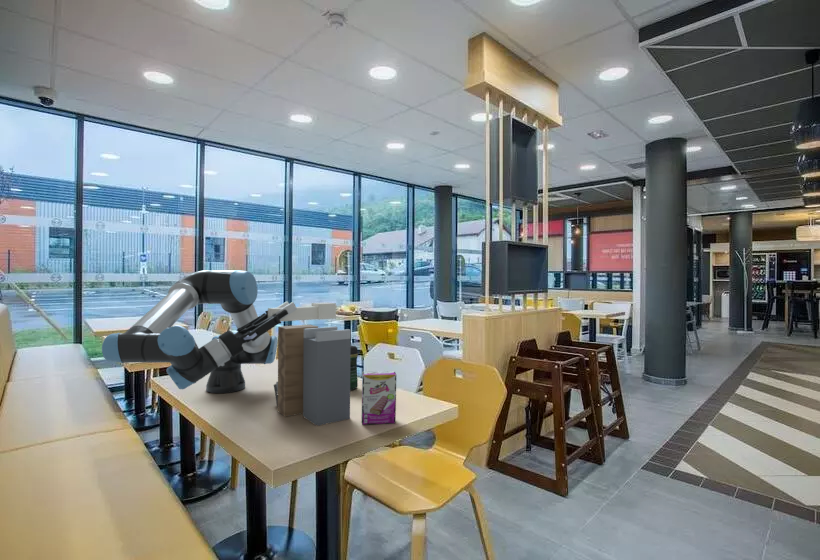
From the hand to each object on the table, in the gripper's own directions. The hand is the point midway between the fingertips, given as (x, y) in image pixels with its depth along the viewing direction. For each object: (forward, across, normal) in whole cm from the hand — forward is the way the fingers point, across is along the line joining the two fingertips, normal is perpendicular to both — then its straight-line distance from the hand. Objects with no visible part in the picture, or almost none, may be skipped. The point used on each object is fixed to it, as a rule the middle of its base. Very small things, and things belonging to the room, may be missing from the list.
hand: (291, 305), depth 137 cm
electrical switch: (-13, -24, -37) cm, 46 cm away
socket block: (-9, -1, -40) cm, 41 cm away
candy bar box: (+2, +13, -46) cm, 48 cm away
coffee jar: (+12, -31, -52) cm, 62 cm away
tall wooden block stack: (-13, -13, -37) cm, 41 cm away
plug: (+1, 0, -6) cm, 6 cm away
